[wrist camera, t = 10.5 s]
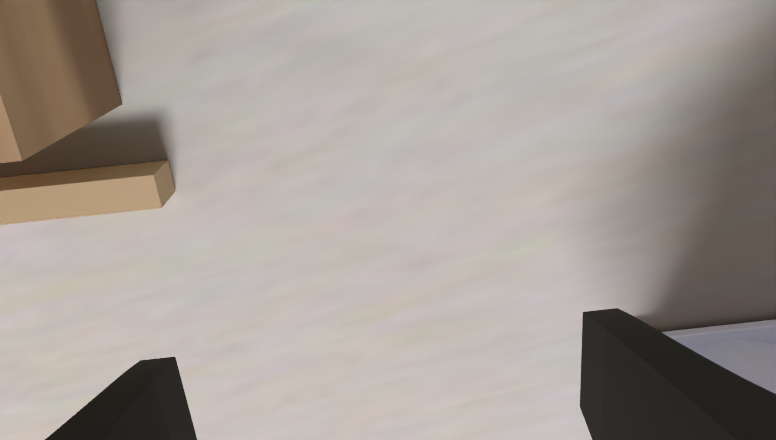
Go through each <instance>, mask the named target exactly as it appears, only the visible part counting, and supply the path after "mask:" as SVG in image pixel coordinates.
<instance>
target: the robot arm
mask: <svg viewBox="0 0 776 440" xmlns="http://www.w3.org/2000/svg"><path fill="white" fill-rule="evenodd" d="M580 408H581V410H582V413H583V416H584V418H585V421H586V424H587V426H588V429H589V432H590V434H591V437H592V439H593V440H776V319H775V320H766V321H757V322H748V323H739V324H730V325H721V326H712V327H703V328H694V329H685V330H676V331H667V332H660V331H658V330H656V329H655V328H653V327H651V326H649V325H648V324H646V323H644V322H642V321H641V320H639V319H637V318H635V317H633V316H632V315H630V314H628V313H626V312H624V311H622V310H620V309H618V308H616V309H607V310H598V311H589V312H583V329H582V360H581V391H580ZM45 440H197V438H196V434H195V430H194V427H193V423H192V419H191V415H190V411H189V408H188V404H187V400H186V396H185V392H184V389H183V385H182V381H181V377H180V373H179V370H178V366H177V362H176V358H175V357H169V358H160V359H151V360H141V361H139V362H138V363H136V364H135V365H134V366H132V367H131V368H130V369H128V370H127V371H126V372H125V373H123V374H122V375H121V376H120V377H119V378H117V379H116V380H115V381H114V382H113V383H111V384H110V385H109V386H108V387H107V388H106V389H104V390H103V391H102V392H101V393H100V394H99V395H97V396H96V397H95V398H94V399H93V400H92V401H90V402H89V403H88V404H87V405H86V406H85V407H83V408H82V409H81V410H80V411H79V412H77V413H76V414H75V415H74V416H73V417H72V418H70V419H69V420H68V421H67V422H66V423H64V424H63V425H62V426H61V427H60V428H59V429H57V430H56V431H55V432H54V433H53V434H51V435H50V436H49V437H48V438H47V439H45Z"/></svg>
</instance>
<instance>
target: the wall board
mask: <svg viewBox="0 0 776 440" xmlns="http://www.w3.org/2000/svg"><path fill="white" fill-rule="evenodd" d="M174 192H175V187H174V183H173V178H172V174H171V170H170V166H169V161H168V160H165V161H155V162H145V163H136V164H126V165H117V166H107V167H97V168H88V169H78V170H68V171H59V172H49V173H39V174H30V175H20V176H11V177H1V178H0V225H4V224H13V223H23V222H32V221H42V220H51V219H61V218H70V217H80V216H89V215H99V214H108V213H118V212H127V211H137V210H146V209H156V208H162V207H163V206H164V204H165V203H166V202H167V201H168V199H169V198H170V197H171V196H172V195H173V193H174Z"/></svg>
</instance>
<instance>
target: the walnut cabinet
mask: <svg viewBox="0 0 776 440" xmlns="http://www.w3.org/2000/svg"><path fill="white" fill-rule="evenodd" d="M120 105H122V101H121V97H120V93H119V89H118V85H117V81H116V77H115V74H114V70H113V66H112V62H111V58H110V54H109V50H108V46H107V42H106V38H105V34H104V30H103V27H102V23H101V19H100V15H99V11H98V7H97V3H96V0H0V163H7V162H17V161H23V160H25V159H27V158H28V157H30V156H32V155H34V154H35V153H37V152H39V151H41V150H42V149H44V148H46V147H48V146H49V145H51V144H53V143H55V142H56V141H58V140H60V139H62V138H64V137H65V136H67V135H69V134H71V133H72V132H74V131H76V130H78V129H79V128H81V127H83V126H85V125H86V124H88V123H90V122H92V121H93V120H95V119H97V118H99V117H100V116H102V115H104V114H106V113H108V112H109V111H111V110H113V109H115V108H116V107H118V106H120Z"/></svg>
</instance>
